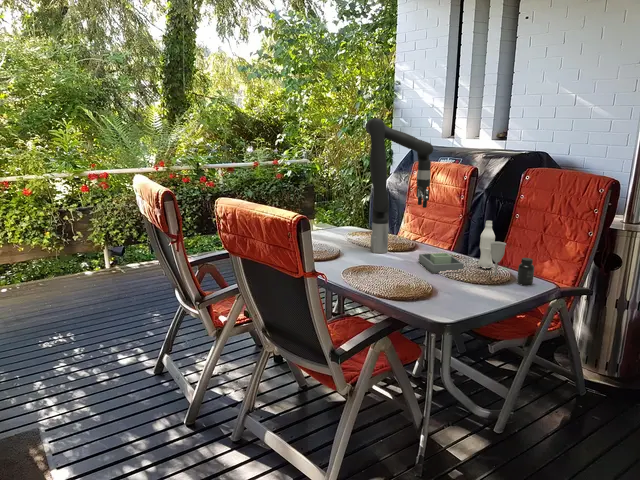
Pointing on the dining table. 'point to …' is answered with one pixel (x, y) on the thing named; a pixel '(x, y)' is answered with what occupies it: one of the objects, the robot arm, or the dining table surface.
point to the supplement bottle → (525, 272)
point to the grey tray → (436, 268)
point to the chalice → (497, 253)
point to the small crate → (440, 258)
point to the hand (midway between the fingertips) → (422, 206)
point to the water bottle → (486, 245)
